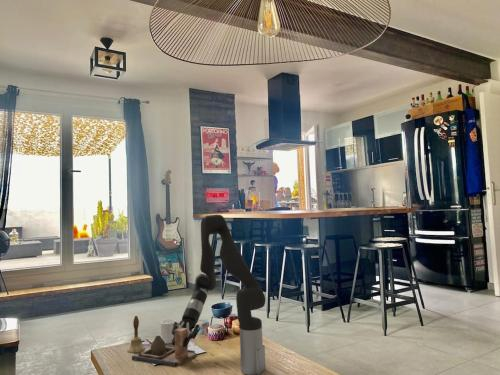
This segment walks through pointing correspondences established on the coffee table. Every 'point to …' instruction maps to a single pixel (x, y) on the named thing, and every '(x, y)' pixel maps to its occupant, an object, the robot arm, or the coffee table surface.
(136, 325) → the hand bell
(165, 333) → the white cup
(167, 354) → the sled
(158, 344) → the vase
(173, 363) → the lane rails
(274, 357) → the coffee table surface
